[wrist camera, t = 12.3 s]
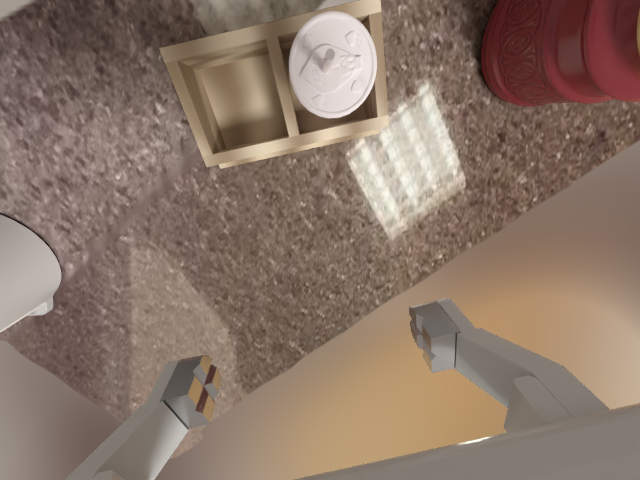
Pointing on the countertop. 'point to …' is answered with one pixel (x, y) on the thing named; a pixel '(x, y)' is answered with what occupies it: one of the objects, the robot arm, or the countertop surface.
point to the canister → (563, 51)
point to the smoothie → (332, 64)
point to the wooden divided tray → (265, 91)
